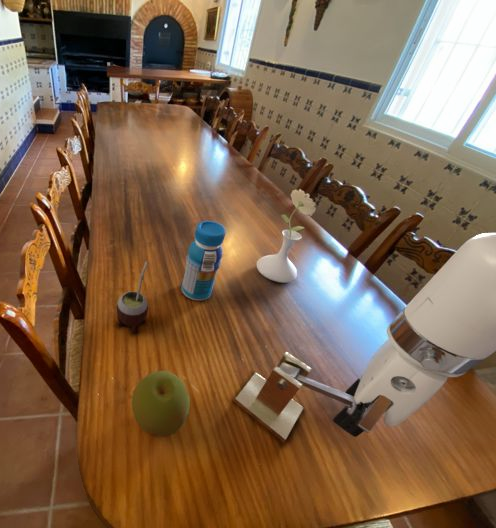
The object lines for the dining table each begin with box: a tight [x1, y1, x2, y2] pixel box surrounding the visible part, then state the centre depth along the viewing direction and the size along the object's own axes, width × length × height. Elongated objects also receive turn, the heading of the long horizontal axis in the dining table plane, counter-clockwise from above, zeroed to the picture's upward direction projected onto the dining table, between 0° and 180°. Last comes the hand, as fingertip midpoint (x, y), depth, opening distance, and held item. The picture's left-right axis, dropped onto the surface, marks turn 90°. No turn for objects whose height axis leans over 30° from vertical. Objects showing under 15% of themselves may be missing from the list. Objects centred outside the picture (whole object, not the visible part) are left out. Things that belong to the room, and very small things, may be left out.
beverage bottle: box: [180, 220, 226, 301], centre depth 74 cm, size 8×8×20 cm
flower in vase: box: [256, 188, 317, 284], centre depth 81 cm, size 13×11×25 cm
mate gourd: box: [116, 260, 149, 335], centre depth 66 cm, size 8×8×15 cm
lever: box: [279, 363, 367, 413], centre depth 46 cm, size 12×5×2 cm, turn 45°
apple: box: [131, 370, 191, 437], centre depth 50 cm, size 10×10×11 cm
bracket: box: [233, 351, 312, 443], centre depth 52 cm, size 10×8×13 cm
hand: (350, 412), depth 44 cm, fingers closed on lever, 5 cm apart
